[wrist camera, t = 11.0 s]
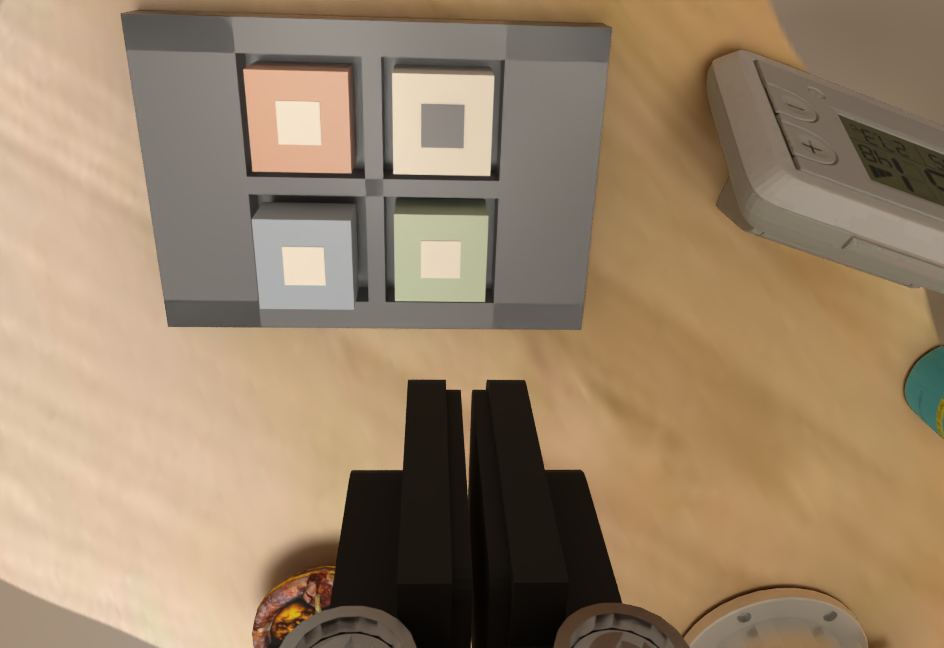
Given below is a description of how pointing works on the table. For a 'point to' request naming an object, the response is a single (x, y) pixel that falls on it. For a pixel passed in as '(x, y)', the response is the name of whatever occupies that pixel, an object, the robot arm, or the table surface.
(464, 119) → the key ivory
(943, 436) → the tube
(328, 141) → the key terracotta
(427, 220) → the key sage
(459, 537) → the robot arm
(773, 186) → the digital clock
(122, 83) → the table surface
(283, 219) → the key slate
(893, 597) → the table surface
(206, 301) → the keypad frame
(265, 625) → the bird feeder
